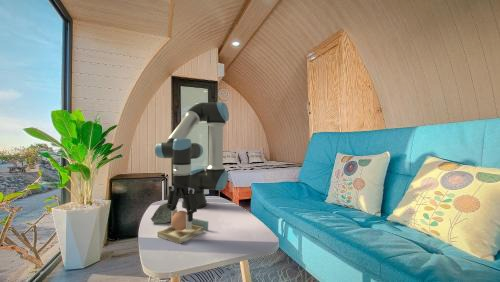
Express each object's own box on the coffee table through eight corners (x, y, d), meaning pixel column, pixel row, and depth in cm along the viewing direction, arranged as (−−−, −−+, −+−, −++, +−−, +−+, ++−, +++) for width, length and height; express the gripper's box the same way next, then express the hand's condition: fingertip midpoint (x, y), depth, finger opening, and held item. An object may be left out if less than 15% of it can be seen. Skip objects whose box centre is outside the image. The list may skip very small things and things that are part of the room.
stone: (160, 203, 105) (171, 198, 115) (146, 216, 106) (158, 209, 116) (172, 219, 104) (182, 212, 114) (157, 232, 105) (169, 224, 115)
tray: (181, 226, 103) (181, 221, 103) (203, 231, 97) (203, 227, 97) (157, 236, 92) (157, 231, 92) (180, 243, 85) (180, 238, 85)
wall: (180, 223, 107) (180, 215, 107) (208, 230, 99) (208, 221, 99) (179, 224, 106) (179, 215, 106) (206, 231, 98) (206, 222, 98)
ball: (181, 224, 100) (181, 207, 100) (194, 228, 96) (194, 210, 96) (167, 231, 93) (167, 212, 93) (180, 235, 89) (181, 215, 89)
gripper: (158, 173, 96) (157, 225, 96) (193, 177, 86) (193, 235, 86) (171, 171, 103) (171, 219, 103) (206, 174, 93) (205, 228, 93)
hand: (181, 226), depth 94 cm, fingers closed on ball, 8 cm apart
